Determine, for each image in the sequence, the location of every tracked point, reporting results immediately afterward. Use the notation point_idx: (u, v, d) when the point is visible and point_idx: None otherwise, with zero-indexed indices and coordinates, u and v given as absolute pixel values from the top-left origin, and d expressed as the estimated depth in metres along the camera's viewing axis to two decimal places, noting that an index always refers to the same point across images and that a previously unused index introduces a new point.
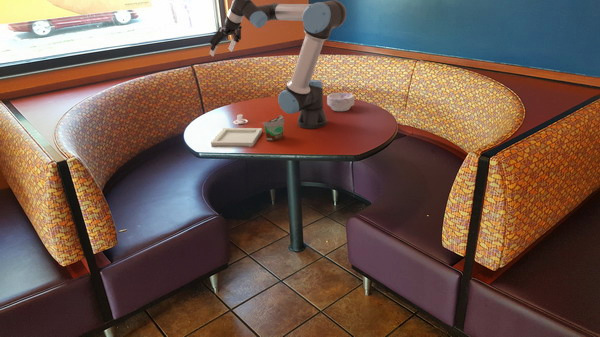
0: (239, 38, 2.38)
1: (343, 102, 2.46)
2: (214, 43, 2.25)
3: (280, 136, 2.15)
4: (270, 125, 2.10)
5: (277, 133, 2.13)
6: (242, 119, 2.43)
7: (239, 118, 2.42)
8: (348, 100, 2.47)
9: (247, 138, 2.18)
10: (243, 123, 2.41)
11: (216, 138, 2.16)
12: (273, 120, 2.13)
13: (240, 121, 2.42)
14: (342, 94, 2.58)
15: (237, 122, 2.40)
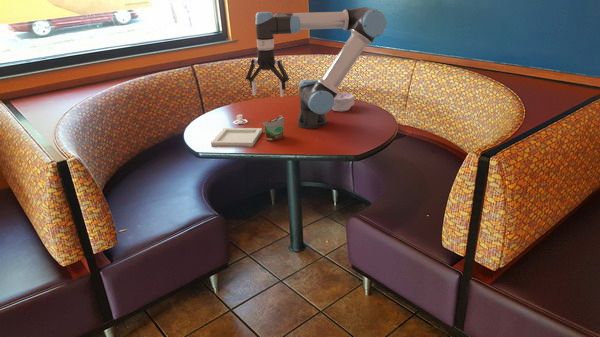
0: (250, 76, 2.09)
1: (343, 102, 2.46)
2: None
3: (280, 136, 2.15)
4: (270, 125, 2.10)
5: (277, 133, 2.13)
6: (242, 119, 2.43)
7: (239, 118, 2.42)
8: (348, 100, 2.47)
9: (247, 138, 2.18)
10: (243, 123, 2.41)
11: (216, 138, 2.16)
12: (273, 120, 2.13)
13: (240, 121, 2.42)
14: (342, 94, 2.58)
15: (237, 122, 2.40)
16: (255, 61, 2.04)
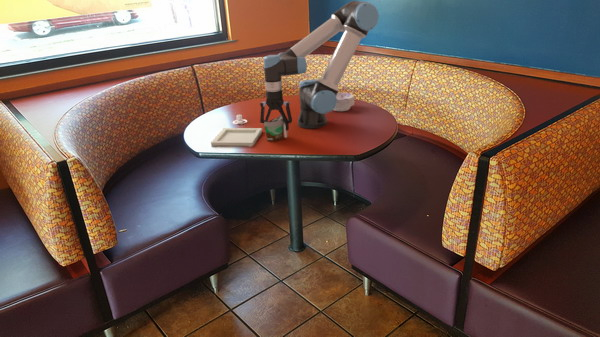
0: (263, 118, 2.15)
1: (343, 102, 2.46)
2: None
3: (280, 136, 2.15)
4: (271, 125, 2.09)
5: (277, 133, 2.13)
6: (241, 119, 2.43)
7: (238, 118, 2.42)
8: (348, 100, 2.47)
9: (247, 138, 2.18)
10: (242, 123, 2.41)
11: (216, 138, 2.16)
12: (273, 120, 2.13)
13: (239, 121, 2.41)
14: (342, 94, 2.58)
15: (236, 122, 2.40)
16: (264, 103, 2.10)
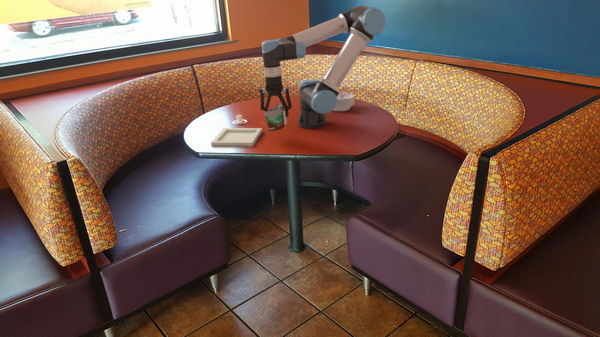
0: (263, 105, 2.12)
1: (343, 102, 2.46)
2: None
3: (282, 124, 2.12)
4: (271, 114, 2.07)
5: (278, 121, 2.10)
6: (241, 119, 2.43)
7: (238, 118, 2.42)
8: (348, 100, 2.47)
9: (247, 138, 2.18)
10: (242, 123, 2.41)
11: (216, 138, 2.16)
12: (273, 109, 2.11)
13: (239, 121, 2.41)
14: (342, 94, 2.58)
15: (236, 122, 2.40)
16: (263, 89, 2.07)
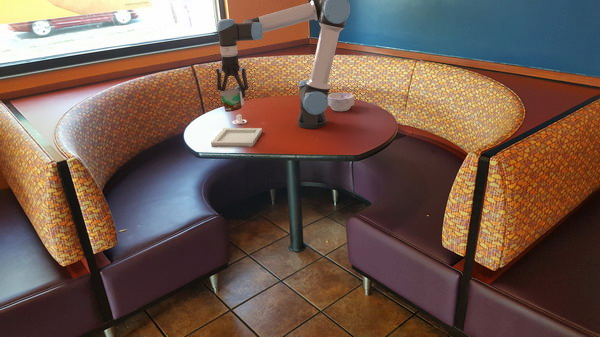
0: (220, 86, 2.11)
1: (343, 102, 2.46)
2: None
3: (239, 105, 2.11)
4: (227, 94, 2.05)
5: (235, 102, 2.09)
6: (241, 119, 2.43)
7: (238, 118, 2.42)
8: (348, 100, 2.47)
9: (247, 138, 2.18)
10: (242, 123, 2.41)
11: (216, 138, 2.16)
12: (229, 89, 2.10)
13: (239, 121, 2.41)
14: (342, 94, 2.58)
15: (236, 122, 2.40)
16: (220, 69, 2.06)
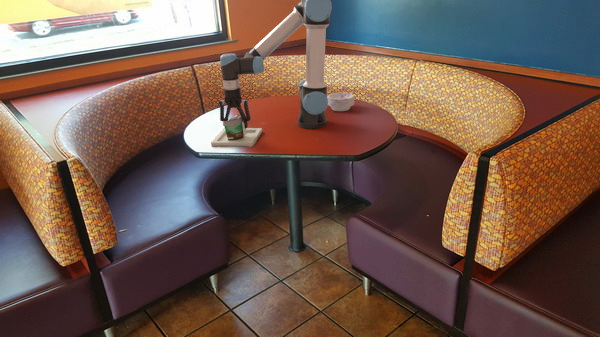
0: (223, 116, 2.17)
1: (343, 102, 2.46)
2: None
3: (241, 134, 2.17)
4: (230, 124, 2.12)
5: (237, 131, 2.15)
6: None
7: None
8: (348, 100, 2.47)
9: (247, 138, 2.18)
10: None
11: (216, 138, 2.16)
12: (232, 119, 2.16)
13: None
14: (342, 94, 2.58)
15: None
16: (222, 101, 2.12)
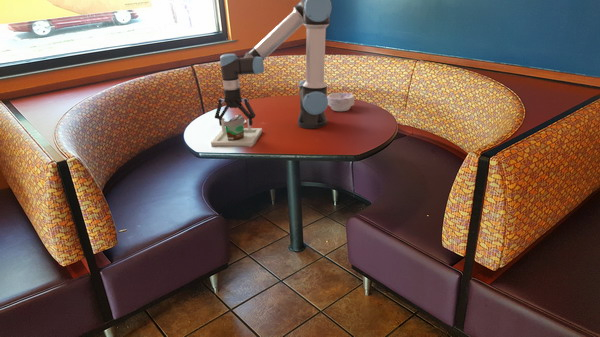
0: (218, 114, 2.17)
1: (343, 102, 2.46)
2: None
3: (241, 135, 2.17)
4: (231, 124, 2.12)
5: (238, 132, 2.15)
6: None
7: None
8: (348, 100, 2.47)
9: (247, 138, 2.18)
10: None
11: (216, 138, 2.16)
12: (233, 119, 2.16)
13: None
14: (342, 94, 2.58)
15: None
16: (222, 100, 2.12)
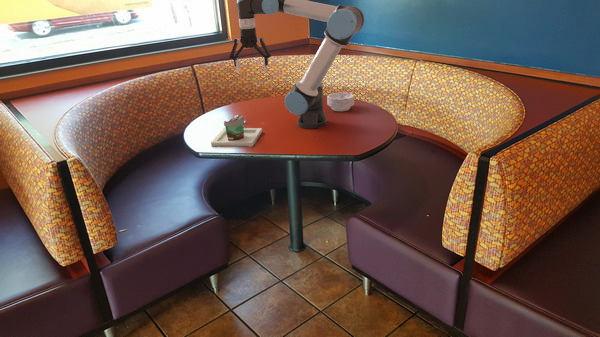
0: (233, 55, 2.20)
1: (343, 102, 2.46)
2: None
3: (241, 135, 2.17)
4: (231, 124, 2.12)
5: (238, 132, 2.15)
6: None
7: None
8: (348, 100, 2.47)
9: (247, 138, 2.18)
10: None
11: (216, 138, 2.16)
12: (233, 119, 2.16)
13: None
14: (342, 94, 2.58)
15: None
16: (238, 40, 2.15)
